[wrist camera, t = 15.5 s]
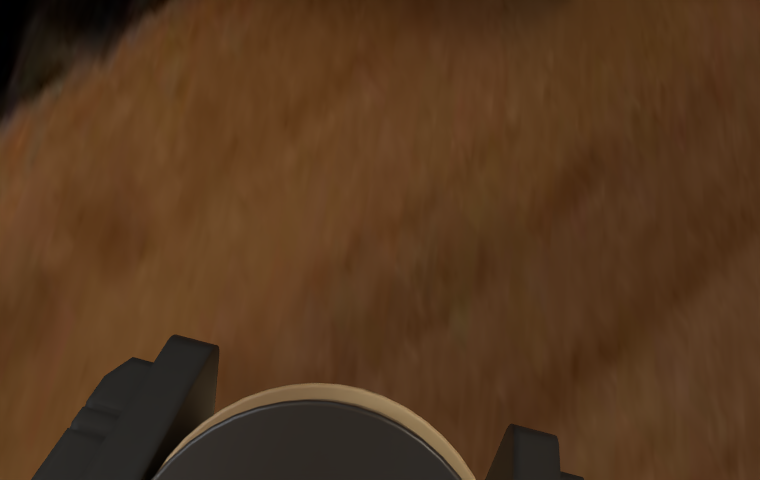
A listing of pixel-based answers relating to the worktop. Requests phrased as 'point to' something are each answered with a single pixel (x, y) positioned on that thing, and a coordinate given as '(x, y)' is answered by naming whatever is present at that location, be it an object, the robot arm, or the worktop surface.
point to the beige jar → (314, 440)
